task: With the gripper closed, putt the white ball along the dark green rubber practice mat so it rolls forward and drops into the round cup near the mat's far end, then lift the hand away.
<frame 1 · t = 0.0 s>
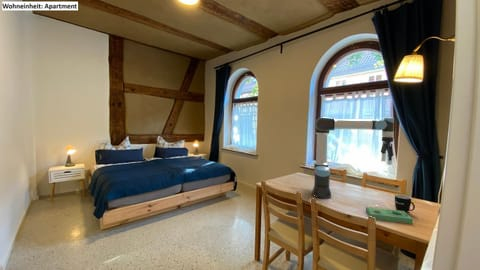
hand: (386, 162, 171), 28 cm above the table, fingers open, 13 cm apart
mug: (404, 212, 144), on the table
green: (387, 217, 136), on the table
ball: (377, 208, 137), point 5 cm above the table, touching green
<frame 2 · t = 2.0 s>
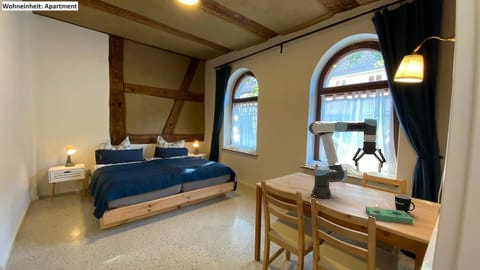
hand: (368, 171, 146), 27 cm above the table, fingers open, 13 cm apart
nothing on the table moved.
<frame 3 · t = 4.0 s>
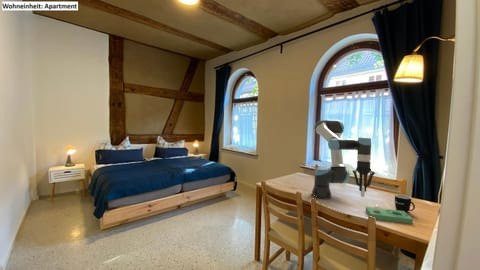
hand: (362, 196, 139), 12 cm above the table, fingers closed
nothing on the table moved.
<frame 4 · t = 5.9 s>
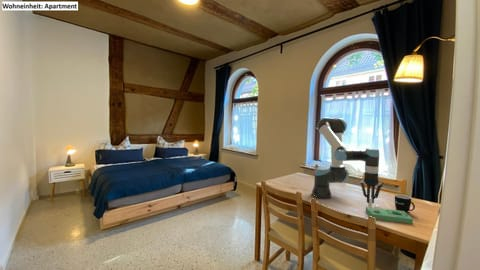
hand: (369, 207, 138), 5 cm above the table, fingers closed
nothing on the table moved.
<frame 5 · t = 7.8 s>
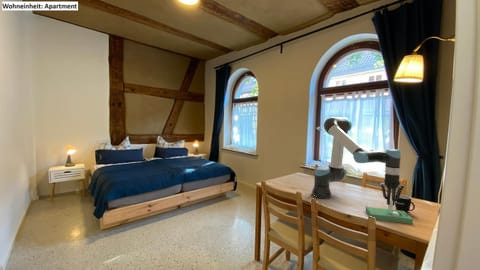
hand: (390, 210, 135), 5 cm above the table, fingers closed
ball: (395, 214, 135), point 2 cm above the table, tilted 55°
everything else where it was.
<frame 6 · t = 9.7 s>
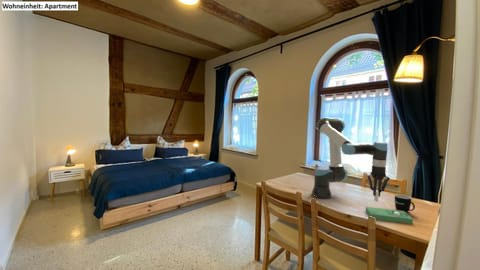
hand: (376, 200, 139), 9 cm above the table, fingers closed
ball: (396, 215, 134), point 2 cm above the table, tilted 41°
everything else where it was.
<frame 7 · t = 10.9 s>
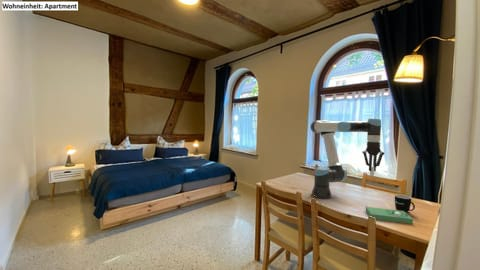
hand: (371, 176, 143), 24 cm above the table, fingers closed
ball: (397, 215, 134), point 2 cm above the table, tilted 35°
everything else where it was.
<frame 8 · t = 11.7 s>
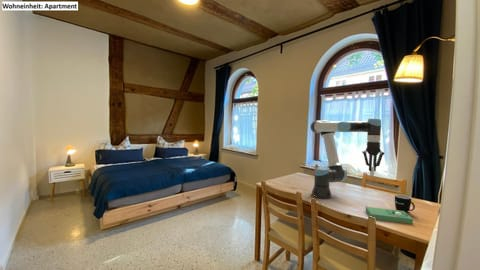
hand: (371, 176, 143), 24 cm above the table, fingers closed
at the end: ball 0.8 cm from the target spot in the green, point 2.0 cm above the green's base; the gripper is holding nothing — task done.
